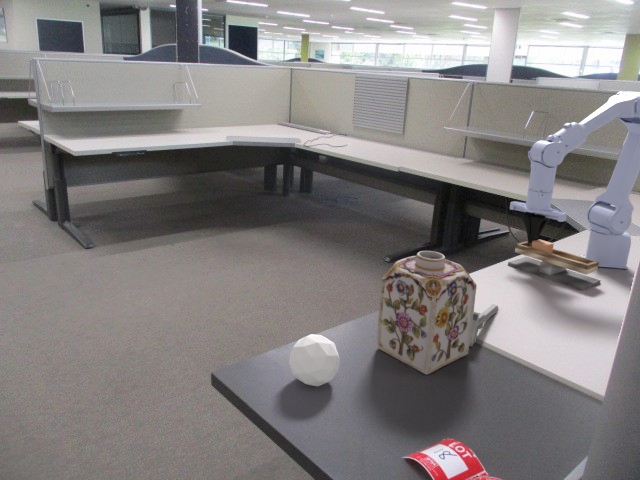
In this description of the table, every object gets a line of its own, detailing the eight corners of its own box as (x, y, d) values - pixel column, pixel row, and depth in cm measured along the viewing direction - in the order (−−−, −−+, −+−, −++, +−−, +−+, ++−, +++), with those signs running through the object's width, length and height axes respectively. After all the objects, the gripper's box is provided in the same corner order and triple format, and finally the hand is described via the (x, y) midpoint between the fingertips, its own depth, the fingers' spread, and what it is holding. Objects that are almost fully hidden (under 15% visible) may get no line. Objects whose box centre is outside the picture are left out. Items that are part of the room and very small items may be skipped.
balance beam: (507, 264, 138) (510, 244, 136) (526, 259, 143) (529, 239, 141) (582, 290, 123) (586, 267, 121) (600, 283, 127) (604, 261, 126)
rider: (530, 250, 135) (532, 241, 134) (537, 248, 137) (539, 239, 136) (545, 254, 132) (546, 245, 131) (552, 252, 133) (553, 243, 133)
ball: (326, 395, 84) (358, 364, 81) (291, 397, 79) (324, 365, 75) (305, 355, 89) (335, 325, 86) (271, 355, 83) (301, 322, 80)
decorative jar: (374, 348, 94) (380, 251, 88) (417, 330, 101) (425, 239, 96) (428, 377, 85) (438, 272, 80) (470, 355, 92) (483, 257, 87)
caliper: (472, 349, 95) (476, 317, 93) (466, 347, 96) (470, 315, 94) (498, 309, 112) (502, 281, 110) (493, 308, 112) (496, 280, 111)
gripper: (505, 186, 135) (498, 237, 139) (558, 197, 124) (549, 252, 128) (522, 183, 139) (514, 233, 143) (574, 194, 128) (565, 248, 132)
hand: (532, 242), depth 136 cm, fingers closed
